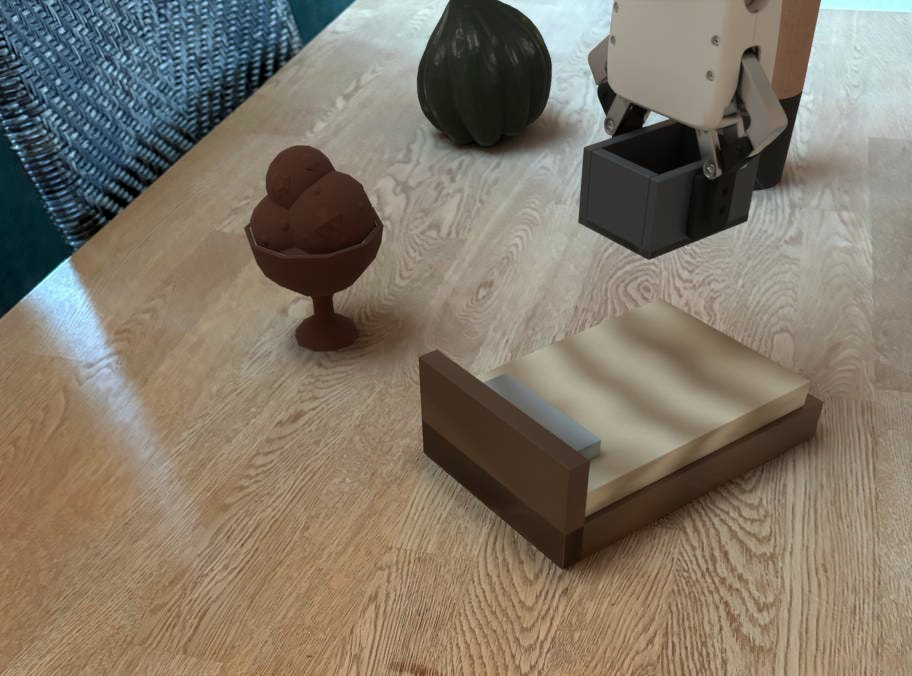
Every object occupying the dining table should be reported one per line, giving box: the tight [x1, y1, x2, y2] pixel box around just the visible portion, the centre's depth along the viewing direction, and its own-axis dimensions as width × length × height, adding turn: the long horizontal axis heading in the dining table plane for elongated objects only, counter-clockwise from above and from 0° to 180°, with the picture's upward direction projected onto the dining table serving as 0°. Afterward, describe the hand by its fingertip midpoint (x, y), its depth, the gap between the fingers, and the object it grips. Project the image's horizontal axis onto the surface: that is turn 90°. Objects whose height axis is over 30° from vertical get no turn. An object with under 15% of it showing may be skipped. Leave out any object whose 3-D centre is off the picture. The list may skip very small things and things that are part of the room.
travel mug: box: [722, 0, 822, 191], centre depth 99 cm, size 8×8×20 cm
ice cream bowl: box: [243, 144, 385, 352], centre depth 82 cm, size 11×11×15 cm
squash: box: [416, 0, 553, 147], centre depth 113 cm, size 14×15×15 cm
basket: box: [577, 118, 760, 261], centre depth 67 cm, size 9×7×5 cm
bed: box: [418, 298, 825, 570], centre depth 72 cm, size 24×16×8 cm, turn 125°
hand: (664, 210), depth 69 cm, fingers closed on basket, 7 cm apart
